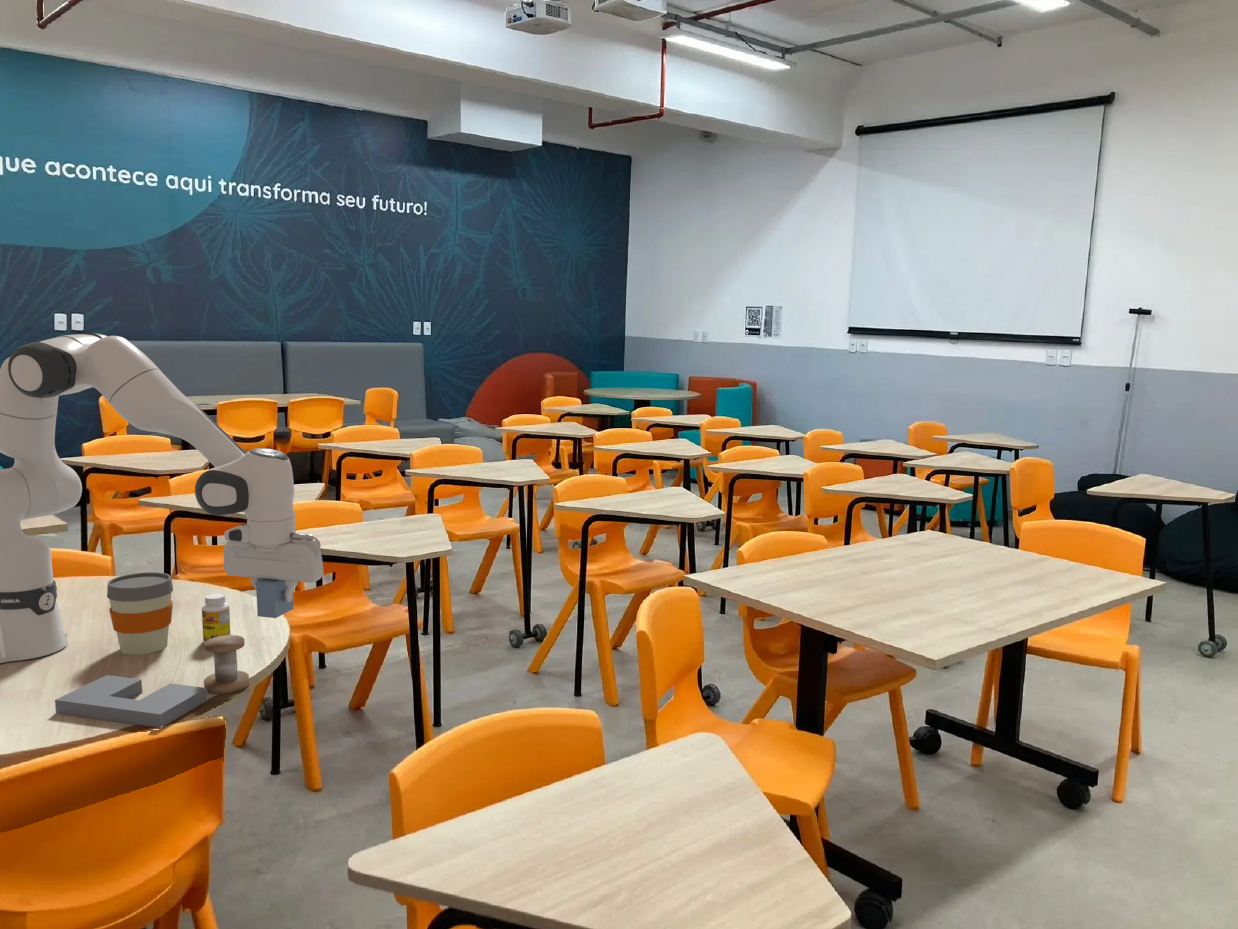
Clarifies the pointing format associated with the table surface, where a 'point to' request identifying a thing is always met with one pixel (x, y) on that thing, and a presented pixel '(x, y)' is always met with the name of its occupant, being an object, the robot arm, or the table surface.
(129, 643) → the reusable coffee cup
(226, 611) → the supplement bottle
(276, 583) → the blue-gray rectangular block
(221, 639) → the bobbin post
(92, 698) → the notched board
